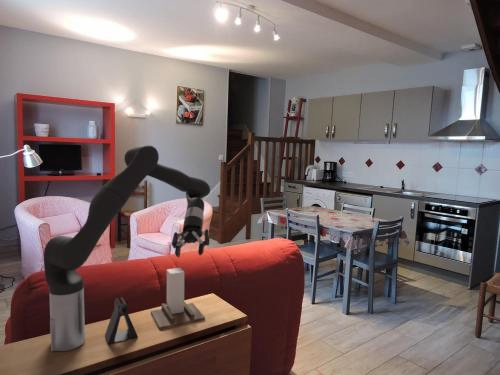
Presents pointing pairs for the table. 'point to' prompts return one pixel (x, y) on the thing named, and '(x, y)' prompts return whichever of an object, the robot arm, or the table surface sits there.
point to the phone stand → (111, 331)
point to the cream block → (175, 290)
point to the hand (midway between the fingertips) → (188, 255)
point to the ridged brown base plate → (176, 316)
